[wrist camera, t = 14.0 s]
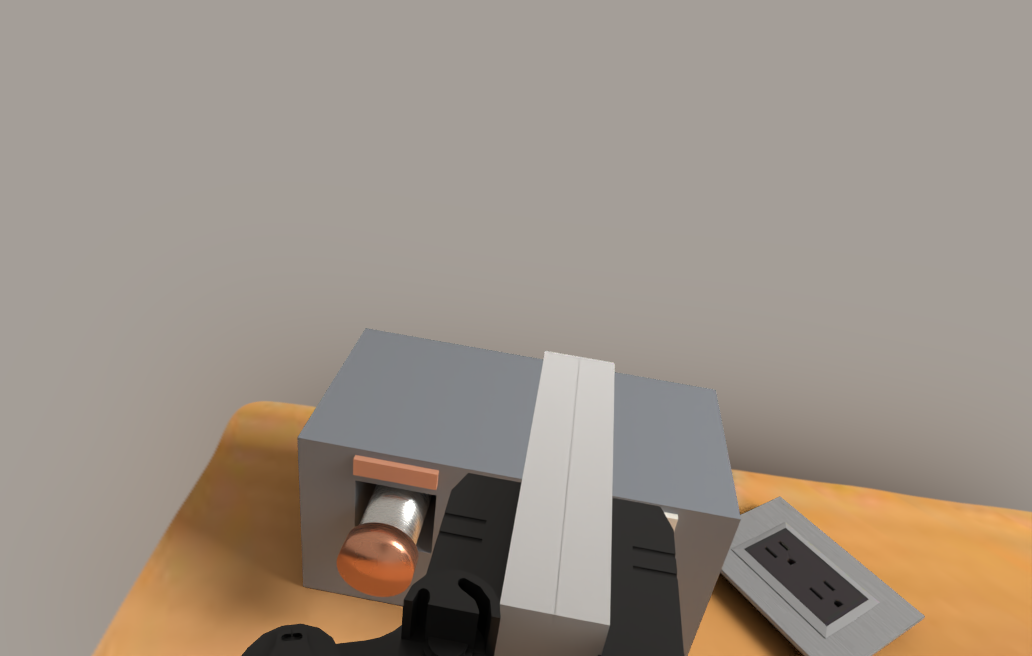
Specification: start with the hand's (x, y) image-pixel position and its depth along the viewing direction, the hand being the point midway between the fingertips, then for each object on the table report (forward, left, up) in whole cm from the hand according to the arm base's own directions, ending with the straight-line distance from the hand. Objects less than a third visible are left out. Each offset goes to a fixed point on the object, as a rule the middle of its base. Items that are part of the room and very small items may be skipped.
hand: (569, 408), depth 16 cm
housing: (-3, -25, -32) cm, 41 cm away
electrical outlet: (-25, -22, -33) cm, 47 cm away
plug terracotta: (+5, -21, -26) cm, 34 cm away
